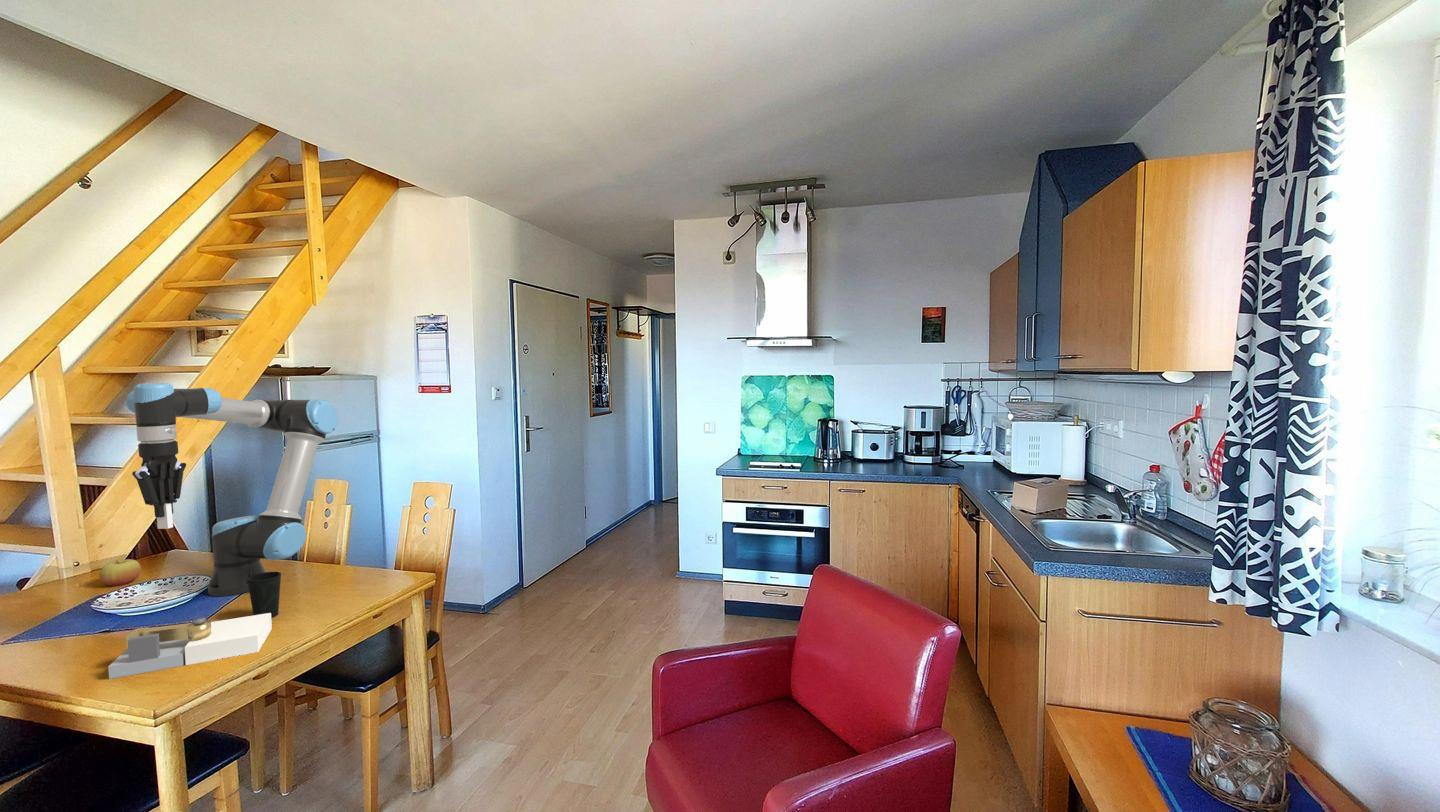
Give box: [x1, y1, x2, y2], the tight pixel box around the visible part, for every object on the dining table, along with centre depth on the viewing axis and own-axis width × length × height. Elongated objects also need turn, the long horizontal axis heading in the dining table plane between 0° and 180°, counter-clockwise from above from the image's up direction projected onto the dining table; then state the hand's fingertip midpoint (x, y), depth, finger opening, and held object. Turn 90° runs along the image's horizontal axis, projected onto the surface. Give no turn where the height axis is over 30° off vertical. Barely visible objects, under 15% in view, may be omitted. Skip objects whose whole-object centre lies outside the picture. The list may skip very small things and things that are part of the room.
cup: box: [247, 571, 282, 619], centre depth 166 cm, size 8×8×12 cm
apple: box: [98, 558, 142, 587], centre depth 191 cm, size 10×10×8 cm
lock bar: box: [125, 619, 212, 649], centre depth 141 cm, size 4×15×3 cm, turn 110°
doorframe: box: [107, 613, 273, 680], centre depth 145 cm, size 15×28×9 cm, turn 118°
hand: (165, 527), depth 153 cm, fingers closed
